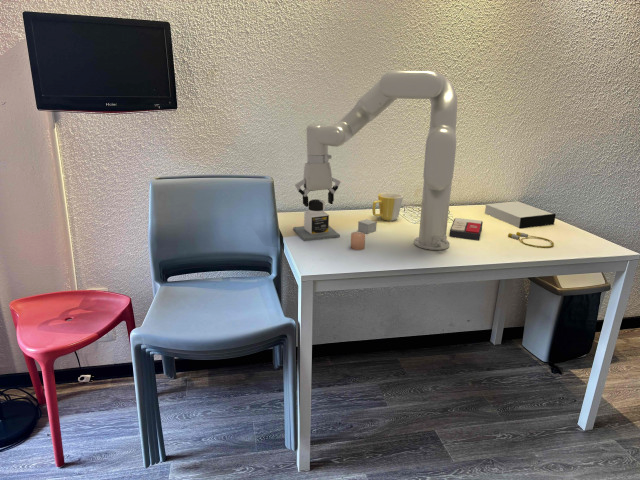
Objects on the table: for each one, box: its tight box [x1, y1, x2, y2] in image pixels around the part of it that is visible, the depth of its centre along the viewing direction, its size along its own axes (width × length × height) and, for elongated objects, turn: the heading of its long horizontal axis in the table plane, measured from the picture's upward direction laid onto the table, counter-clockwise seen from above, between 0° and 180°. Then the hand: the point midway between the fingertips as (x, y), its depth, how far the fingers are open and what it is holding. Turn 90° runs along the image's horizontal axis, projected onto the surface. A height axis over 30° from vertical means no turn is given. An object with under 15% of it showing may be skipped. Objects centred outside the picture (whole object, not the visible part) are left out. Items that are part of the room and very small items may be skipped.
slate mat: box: [292, 225, 341, 242], centre depth 188 cm, size 14×14×1 cm
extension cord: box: [507, 231, 555, 249], centre depth 184 cm, size 12×16×2 cm
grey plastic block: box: [357, 218, 378, 235], centre depth 192 cm, size 5×5×4 cm
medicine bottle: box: [303, 199, 330, 235], centre depth 186 cm, size 7×7×12 cm
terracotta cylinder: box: [350, 231, 366, 251], centre depth 174 cm, size 5×5×5 cm
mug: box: [372, 191, 404, 222], centre depth 206 cm, size 14×10×10 cm
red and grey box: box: [448, 217, 484, 241], centre depth 192 cm, size 11×4×15 cm
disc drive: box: [484, 200, 557, 229], centre depth 211 cm, size 18×22×5 cm
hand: (318, 204), depth 185 cm, fingers open, 9 cm apart
